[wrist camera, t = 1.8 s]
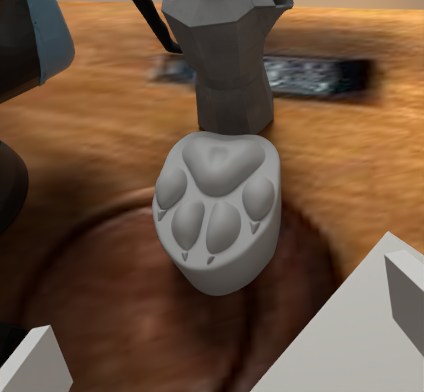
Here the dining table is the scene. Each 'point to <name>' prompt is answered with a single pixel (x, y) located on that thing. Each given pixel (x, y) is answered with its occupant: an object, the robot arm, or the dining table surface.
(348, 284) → the shelf board
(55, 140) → the dining table surface
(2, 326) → the red board with handle
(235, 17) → the coffeepot
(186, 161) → the lumpy-topped squat cylinder
